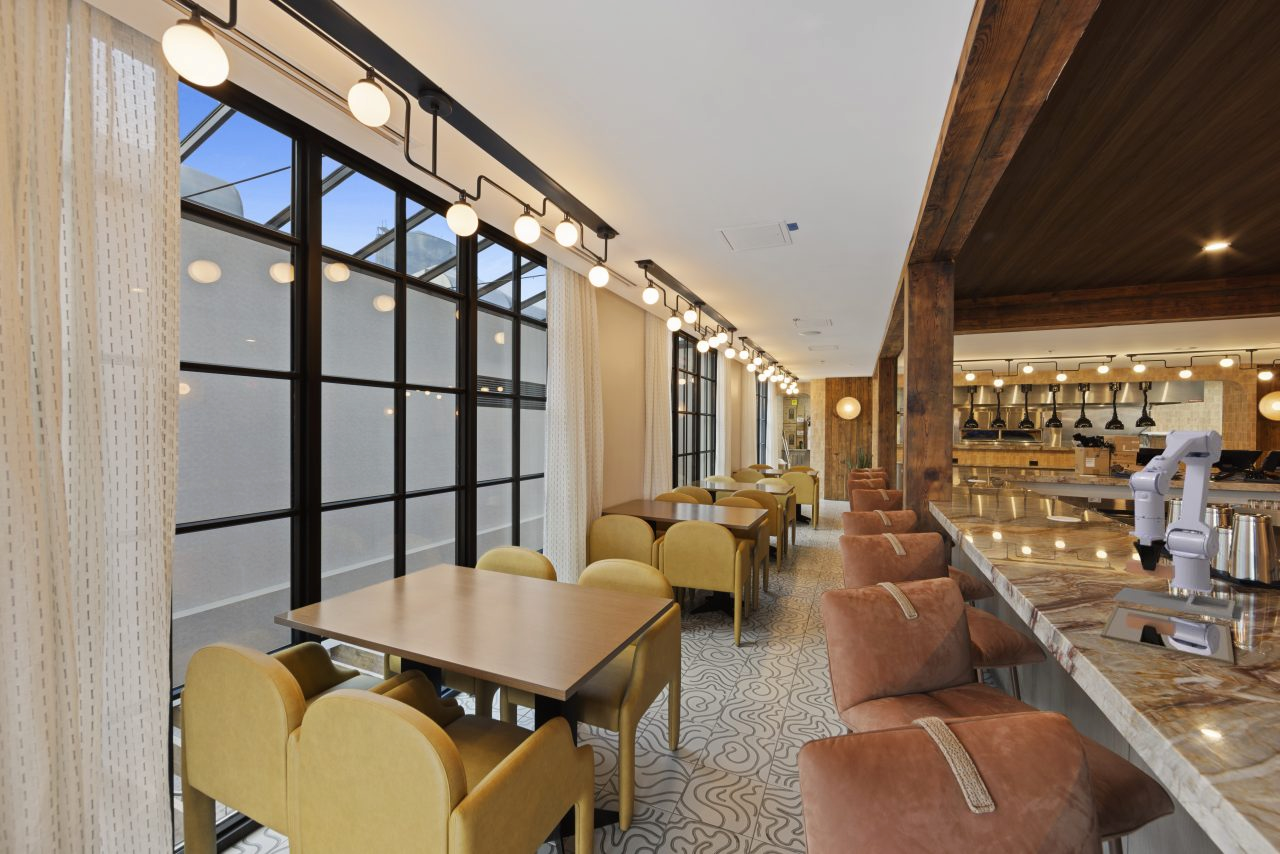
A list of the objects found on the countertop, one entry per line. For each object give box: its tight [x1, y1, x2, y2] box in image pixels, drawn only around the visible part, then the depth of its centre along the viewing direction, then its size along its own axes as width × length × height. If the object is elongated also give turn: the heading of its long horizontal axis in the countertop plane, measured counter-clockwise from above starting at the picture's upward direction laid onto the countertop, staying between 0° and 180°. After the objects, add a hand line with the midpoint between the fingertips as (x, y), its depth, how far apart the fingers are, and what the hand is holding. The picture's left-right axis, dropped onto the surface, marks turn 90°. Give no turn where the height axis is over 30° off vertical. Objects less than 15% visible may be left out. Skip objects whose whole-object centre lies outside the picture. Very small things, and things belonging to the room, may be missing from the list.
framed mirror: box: [1100, 604, 1235, 666], centre depth 118 cm, size 19×1×28 cm
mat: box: [1112, 586, 1244, 623], centre depth 136 cm, size 16×22×1 cm
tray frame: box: [1186, 593, 1236, 618], centre depth 132 cm, size 13×8×2 cm, turn 130°
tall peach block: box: [1125, 558, 1175, 580], centre depth 142 cm, size 4×9×3 cm, turn 40°
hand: (1150, 568), depth 142 cm, fingers closed on tall peach block, 4 cm apart
